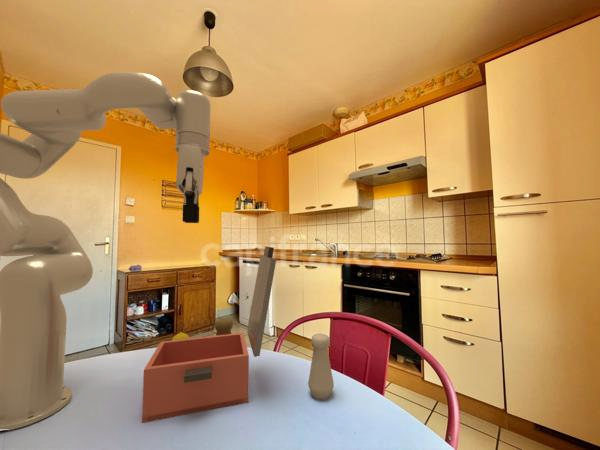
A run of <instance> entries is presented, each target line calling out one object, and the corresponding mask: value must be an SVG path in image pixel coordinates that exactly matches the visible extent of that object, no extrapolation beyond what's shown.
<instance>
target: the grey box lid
mask: <svg viewBox="0 0 600 450" xmlns="http://www.w3.org/2000/svg"><path fill="white" fill-rule="evenodd" d="M274 250H275V247H273V246H272V247H271V246H264V250H263V254H260V258H259V262H258V267H257V273H256V278H255V284H254V290H253V295H252V300H251V305H250V312H249V317H248V322H247V328H246V333H247V336H248V340H249V344H250V347H251V351H252V355H253V357H255V358H257V357H260V355H261V349H262V344H263V339H264V333H265V327H266V323H267V322H266V321H267V316H268V309H269V303H270V298H271V294H272V293H271V292H272V288H273V287H272V286H273V282H274V276H275V270H276V264H277V259H276V258H273V256H274Z"/></svg>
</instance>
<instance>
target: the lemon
mask: <svg viewBox="0 0 600 450" xmlns="http://www.w3.org/2000/svg"><path fill="white" fill-rule="evenodd" d="M190 338H191V337H190V336H189V335H188V334H187V333H185V332H183V331H180V332H178V333H177V334H176V335H175V336H173V337H172V339H171V341H172V340H181V339H190Z"/></svg>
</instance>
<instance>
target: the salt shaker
mask: <svg viewBox="0 0 600 450" xmlns="http://www.w3.org/2000/svg"><path fill="white" fill-rule="evenodd" d="M310 342H311V343H310V345H311V346H312V348H313V352H312V357H311V364H310V371H309V376H308V382H307V384H308V385H307V386H308V388H309V391H310V394H311V396H312V397H314V398H315V399H316V400H327V399H328V398H329V397H330V396H331V394H332V392H333V389H334V386H335V384H334V383H335V382H334V379H333V373H332V368H331V367H332V366H331V361H330V356H329V349H328V348H330V346H331V338H330V336H329V335H328V334H326V333H321V332H320V333H315V334H313V335H312V336H311V340H310Z"/></svg>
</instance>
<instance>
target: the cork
mask: <svg viewBox="0 0 600 450" xmlns="http://www.w3.org/2000/svg"><path fill="white" fill-rule="evenodd" d="M233 325H234V322H233V320H232V319H231V318H229V317H222V318H221V317H220V318H219V319H218V318H217V319H216V321H215V323H214V329H215V331H216V335H215V336H218V335H227V334H232V328H233Z"/></svg>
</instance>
